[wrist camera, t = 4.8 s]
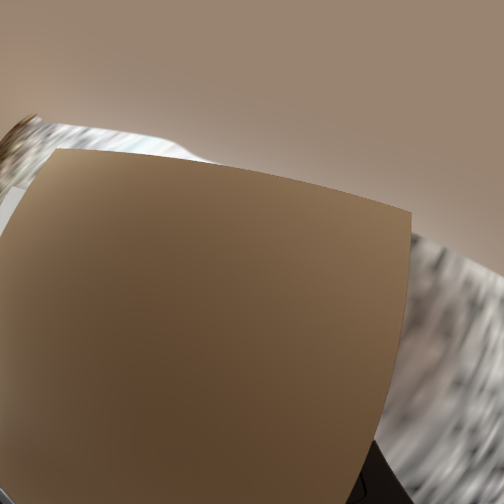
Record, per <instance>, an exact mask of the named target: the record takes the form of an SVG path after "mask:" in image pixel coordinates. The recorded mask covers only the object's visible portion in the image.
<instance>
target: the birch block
mask: <svg viewBox="0 0 504 504" xmlns="http://www.w3.org/2000/svg"><path fill="white" fill-rule="evenodd" d="M410 248H411V212H408V211H405V210H402V209H399V208H396V207H393V206H390V205H386V204H383V203H380V202H376V201H373V200H369V199H366V198H363V197H359V196H356V195H352V194H349V193H345V192H341V191H338V190H334V189H330V188H326V187H322V186H318V185H314V184H310V183H306V182H302V181H297V180H292V179H289V178H284V177H279V176H275V175H270V174H265V173H260V172H255V171H250V170H245V169H240V168H234V167H229V166H223V165H217V164H211V163H205V162H198V161H192V160H185V159H178V158H170V157H162V156H154V155H145V154H135V153H125V152H113V151H99V150H83V149H57V148H56V149H55V150H54V152H53V153H52V154H51V156H50V157H49V158H48V160H47V161H46V162H45V164H44V165H43V167H42V168H41V169H40V171H39V172H38V174H37V175H36V177H35V178H34V180H33V181H32V183H31V184H30V186H29V187H28V189H27V190H26V192H25V193H24V195H23V197H22V198H21V200H20V202H19V203H18V205H17V207H16V208H15V210H14V212H13V214H12V215H11V217H10V219H9V221H8V223H7V225H6V226H5V228H4V230H3V232H2V234H1V236H0V487H1V488H2V489H3V491H4V492H5V493H6V494H7V495H8V496H9V497H10V498H11V500H12V501H13V502H14V503H15V504H345V503H346V501H347V499H348V497H349V495H350V493H351V491H352V489H353V487H354V484H355V482H356V480H357V478H358V475H359V473H360V471H361V469H362V466H363V464H364V461H365V459H366V456H367V454H368V451H369V449H370V446H371V443H372V441H373V438H374V435H375V432H376V429H377V426H378V423H379V420H380V417H381V414H382V411H383V407H384V404H385V400H386V397H387V393H388V390H389V386H390V382H391V378H392V374H393V370H394V365H395V361H396V356H397V351H398V346H399V341H400V336H401V330H402V324H403V318H404V311H405V303H406V295H407V286H408V276H409V264H410Z"/></svg>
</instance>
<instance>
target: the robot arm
mask: <svg viewBox="0 0 504 504" xmlns="http://www.w3.org/2000/svg"><path fill="white" fill-rule="evenodd" d="M373 439H374V438H373ZM0 504H12V503H11V502H10V501H9V500H8V499H7V498H6V497H5V495H4V494H3V493H2V492H1V491H0ZM345 504H414V503H413V501H412V500H411V498H410V497H409V495H408V494H407V492H406V491H405V489H404V488H403V486H402V485H401V483H400V482H399V481H398V479H397V478H396V476H395V474H394V473H393V471H392V470H391V468H390V466H389V465H388V463H387V461H386V460H385V458H384V456H383V454H382V452H381V450H380V449H379V447H378V445H377V443H376V441H375V440H373V441H372V443H371V446H370V449H369V451H368V454H367V456H366V459H365V461H364V464H363V466H362V469H361V471H360V473H359V475H358V478H357V480H356V482H355V484H354V487H353V489H352V491H351V493H350V495H349V497H348V499H347V501H346V503H345Z"/></svg>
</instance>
